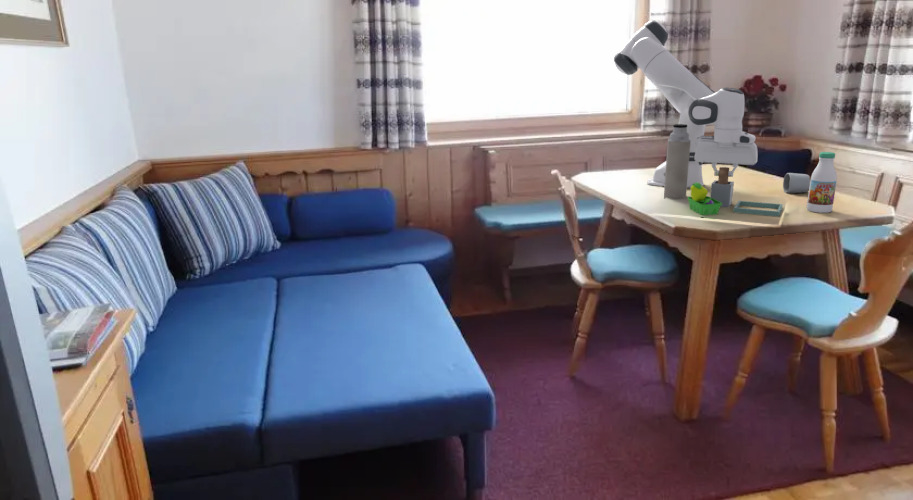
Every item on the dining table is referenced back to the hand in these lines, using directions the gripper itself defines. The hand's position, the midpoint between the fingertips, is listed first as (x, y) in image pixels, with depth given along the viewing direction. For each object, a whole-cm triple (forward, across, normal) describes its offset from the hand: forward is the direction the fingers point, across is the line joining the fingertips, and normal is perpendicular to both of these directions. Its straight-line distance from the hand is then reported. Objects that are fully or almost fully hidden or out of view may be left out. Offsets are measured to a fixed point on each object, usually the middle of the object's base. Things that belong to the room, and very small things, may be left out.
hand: (723, 176), depth 221 cm
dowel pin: (+10, 0, 0) cm, 10 cm away
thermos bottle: (+12, -18, +8) cm, 22 cm away
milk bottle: (+12, +30, +8) cm, 34 cm away
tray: (+11, +12, -4) cm, 17 cm away
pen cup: (+11, 0, 0) cm, 11 cm away
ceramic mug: (+12, +21, +38) cm, 45 cm away
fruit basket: (+12, -4, -13) cm, 18 cm away
